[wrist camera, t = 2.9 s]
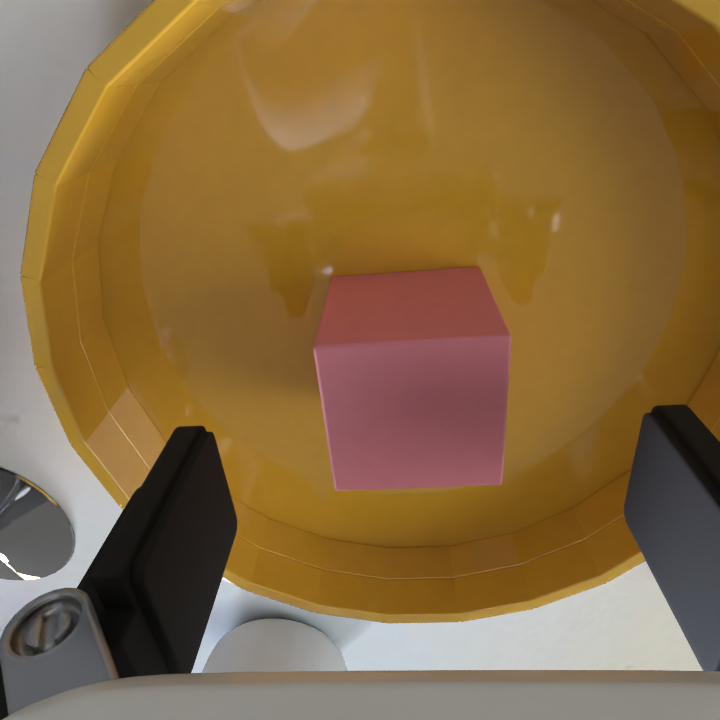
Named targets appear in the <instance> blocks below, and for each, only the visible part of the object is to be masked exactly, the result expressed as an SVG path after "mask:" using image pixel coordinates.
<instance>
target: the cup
mask: <svg viewBox="0 0 720 720" xmlns="http://www.w3.org/2000/svg"><path fill="white" fill-rule="evenodd" d="M292 671H347V668H346V664H345V661H344V658H343V656H342V654H341V652H340V650H339V648H338V647H337V645H336V644H335V643H334V642H333V641H332V640H331V639H330V638H329V637H328V636H326V635H325V634H324V633H322V632H321V631H319V630H317V629H315V628H313V627H311V626H309V625H306V624H303V623H300V622H296V621H292V620H285V619H260V620H254V621H250V622H247V623H244V624H242V625H239V626H237V627H235V628H234V629H232V630H231V631H229V632H228V633H227V634H226V635H224V636H223V637H222V638H221V640H220V641H219V642H218V643H217V645H216V646H215V648H214V649H213V651H212V652H211V654H210V656H209V658H208V660H207V662H206V664H205V667H204V669H203V671H202V673H225V672H292Z"/></svg>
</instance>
